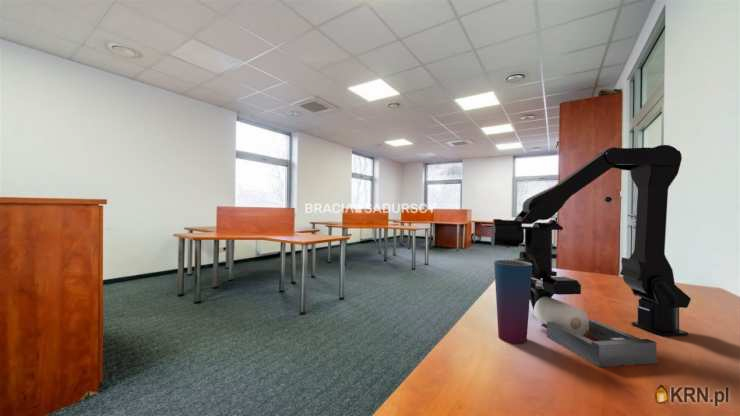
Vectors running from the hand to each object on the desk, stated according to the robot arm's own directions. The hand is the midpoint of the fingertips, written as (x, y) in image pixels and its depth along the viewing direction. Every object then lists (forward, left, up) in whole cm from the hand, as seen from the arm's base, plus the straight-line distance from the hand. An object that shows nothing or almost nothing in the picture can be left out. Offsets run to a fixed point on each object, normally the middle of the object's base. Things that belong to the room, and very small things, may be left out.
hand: (537, 314), depth 68 cm
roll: (0, +7, -1) cm, 7 cm away
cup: (+13, +10, -1) cm, 16 cm away
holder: (0, +15, -1) cm, 15 cm away
